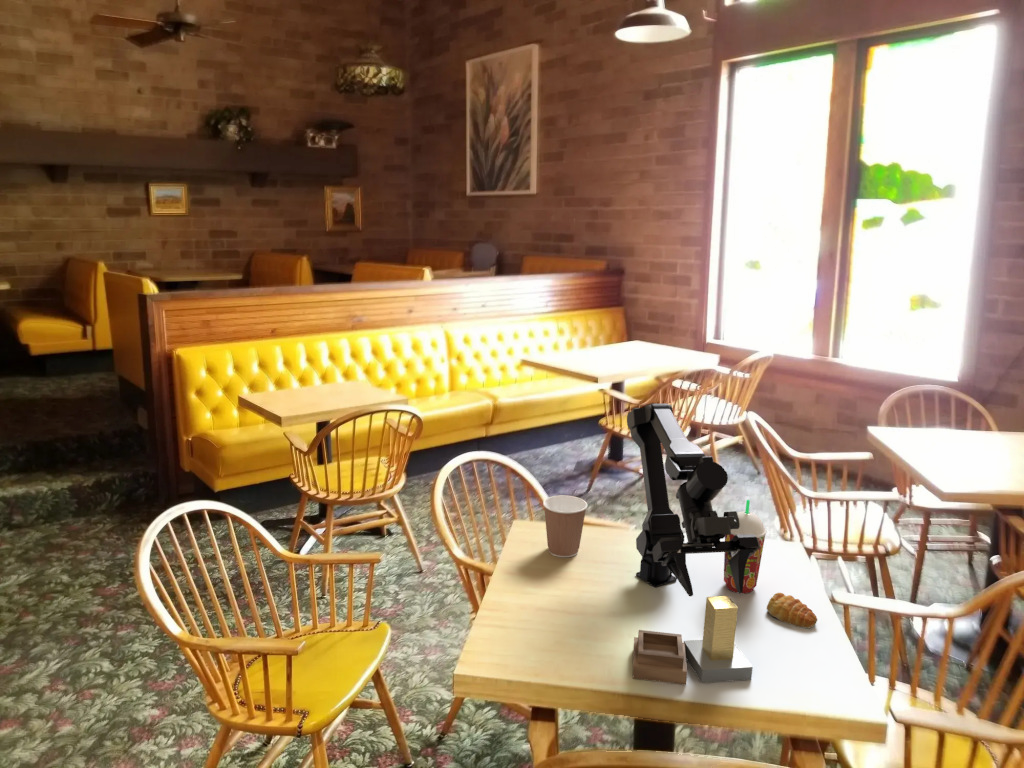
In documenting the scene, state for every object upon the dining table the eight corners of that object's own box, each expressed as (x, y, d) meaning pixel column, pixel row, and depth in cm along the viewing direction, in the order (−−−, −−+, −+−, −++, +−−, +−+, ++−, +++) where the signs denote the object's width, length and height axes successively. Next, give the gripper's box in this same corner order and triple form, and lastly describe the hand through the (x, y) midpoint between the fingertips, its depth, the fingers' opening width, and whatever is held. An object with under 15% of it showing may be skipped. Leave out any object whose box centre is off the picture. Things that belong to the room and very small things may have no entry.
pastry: (823, 623, 150) (825, 605, 149) (804, 634, 146) (807, 617, 145) (781, 603, 157) (782, 587, 156) (762, 614, 153) (763, 597, 152)
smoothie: (717, 592, 161) (725, 504, 156) (722, 575, 168) (730, 490, 164) (758, 600, 158) (767, 510, 153) (761, 582, 165) (770, 496, 161)
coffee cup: (589, 545, 182) (591, 498, 179) (579, 564, 172) (582, 514, 169) (547, 539, 185) (549, 492, 182) (536, 556, 175) (537, 508, 172)
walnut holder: (633, 649, 139) (634, 627, 138) (683, 655, 138) (685, 632, 137) (632, 678, 131) (634, 655, 130) (686, 684, 129) (688, 661, 128)
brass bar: (702, 647, 136) (706, 597, 134) (723, 646, 137) (728, 595, 134) (710, 660, 132) (715, 608, 130) (732, 659, 133) (737, 607, 130)
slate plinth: (682, 653, 139) (683, 640, 138) (729, 650, 140) (730, 637, 139) (701, 683, 130) (702, 670, 129) (751, 679, 131) (752, 666, 131)
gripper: (661, 496, 134) (679, 583, 126) (761, 493, 137) (784, 577, 129) (645, 520, 144) (660, 602, 136) (738, 516, 147) (758, 596, 138)
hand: (716, 594), depth 134 cm, fingers open, 9 cm apart
